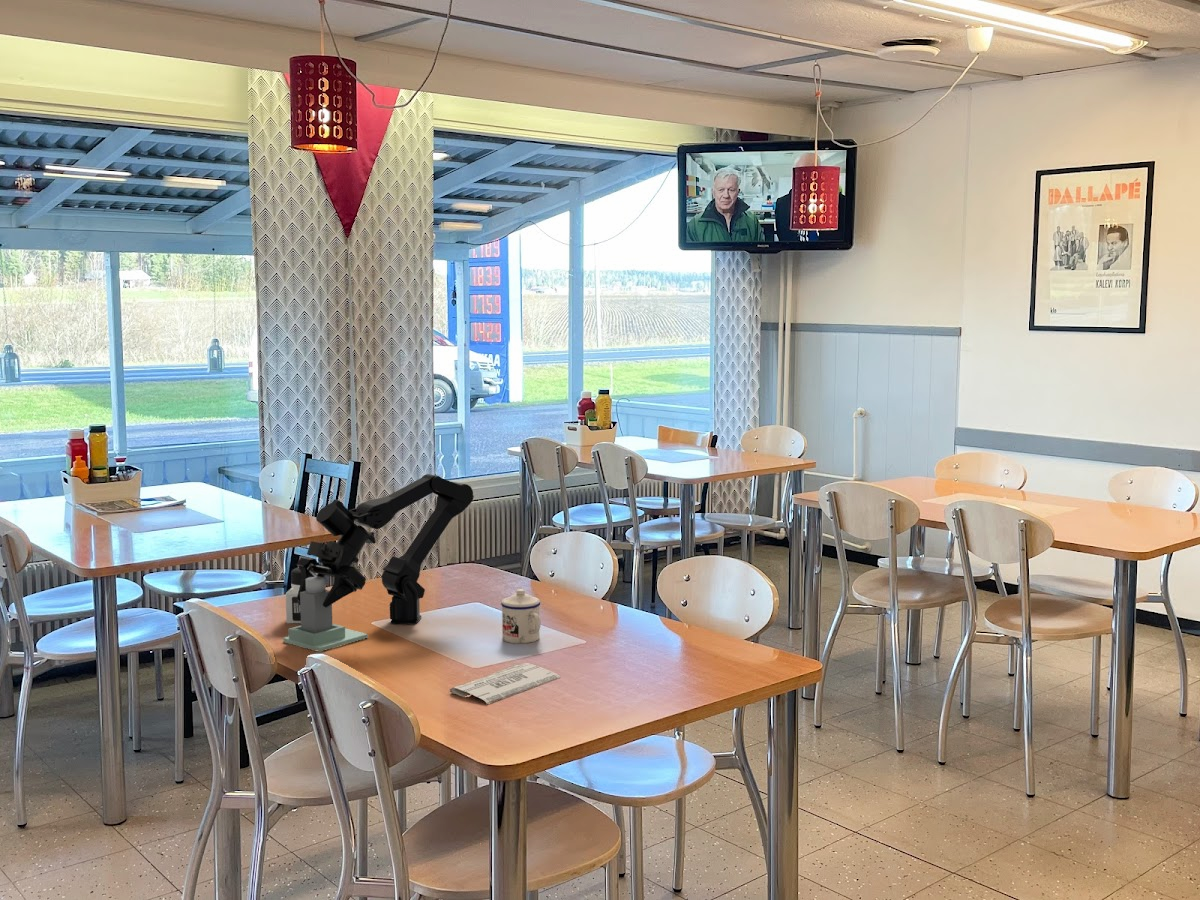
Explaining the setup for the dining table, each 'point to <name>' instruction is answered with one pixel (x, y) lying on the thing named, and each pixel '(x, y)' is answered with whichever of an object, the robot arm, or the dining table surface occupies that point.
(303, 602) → the upright grey pillar
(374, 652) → the dining table surface
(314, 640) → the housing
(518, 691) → the newspaper
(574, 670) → the dining table surface
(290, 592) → the container
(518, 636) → the teacup with lid
